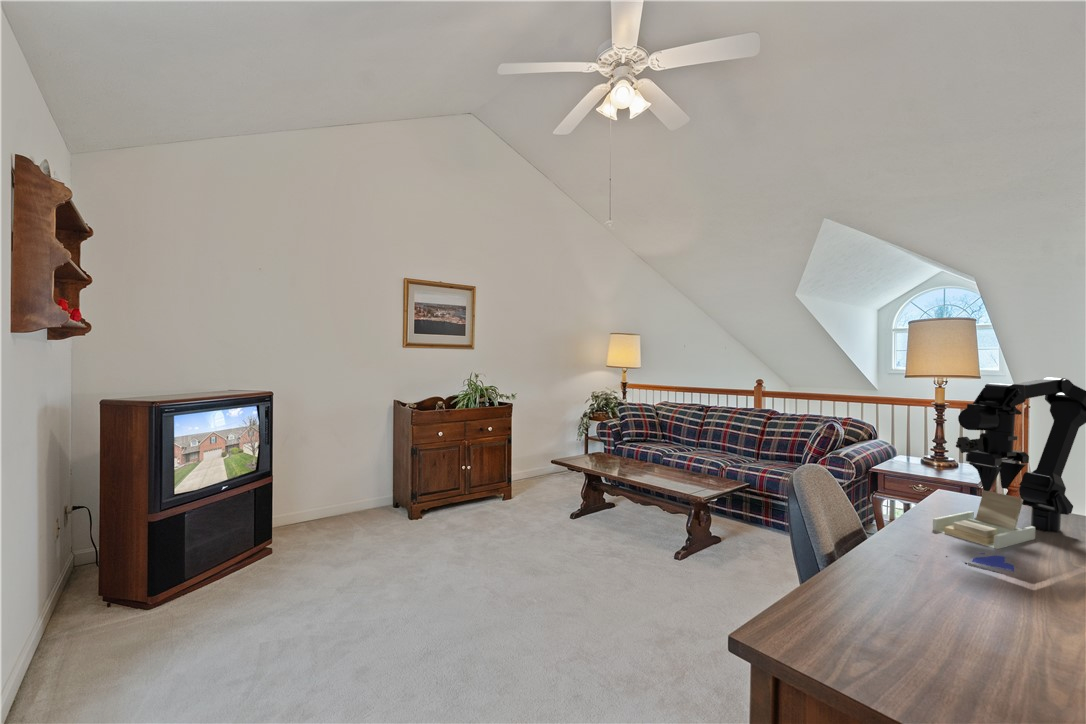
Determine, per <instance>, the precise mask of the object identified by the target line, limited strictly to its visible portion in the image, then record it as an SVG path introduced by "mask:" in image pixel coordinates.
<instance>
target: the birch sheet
mask: <svg viewBox="0 0 1086 724" xmlns="http://www.w3.org/2000/svg"><path fill="white" fill-rule="evenodd" d="M1022 503H1023V499H1022V498H1021V497H1018V496H1013V495H1009V494H1003V493H998V492H995V491H994V492H993V491H991V490H990V491H985V490H984V489H983V491H982V495H981V498H980V502H979V506H978V509H977V513H976V516H975V517H976V520H977V521H981V522H984V523H988V524H992V525H996V526H1000V527H1004V528H1008V529H1011V530H1015V529H1016V528H1017V524H1018V521H1019V516H1020V515H1021V514H1020V513H1021V509H1022V506H1023V505H1022Z"/></svg>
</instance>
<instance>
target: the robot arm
mask: <svg viewBox="0 0 1086 724" xmlns="http://www.w3.org/2000/svg"><path fill="white" fill-rule="evenodd" d="M1038 397H1044V400H1045V401H1046V402H1047V403H1048V404H1049V405H1050V407H1049V413H1050V414H1051V417H1052V420H1053V423H1052V425H1051V428H1050V432H1049V434H1048V436H1047V439H1046V443H1045V445H1044V447H1043V450H1042V452H1041V456H1040V459H1039V461H1038V464H1037V467H1036V469H1035V470H1033V471H1031V472H1030V471H1029V472H1028V471H1025V472H1024V473H1023V474H1022V478H1021V480H1020V483H1019V484H1018V485H1019V487H1018V494H1019V498H1022V499H1023V503H1022V506H1027V507H1031V511H1030V513H1031V515H1030V526H1033V527H1035V531H1037V530H1038V531H1040V532H1046V533H1047V532H1051V533H1060V532H1061V527H1062V526H1061V524H1062V521H1061V520H1062V515H1065V516H1066V515H1067V516H1068V515H1070V514H1072V513H1073V512H1072V511H1073V509H1074V505H1073V503H1072V502H1071V501H1070V500H1069V498H1068V497H1067V496H1066V490H1067V487H1066V485H1065V483H1064V481H1063V478H1062V475H1063V472H1064V470H1065V467H1066V464H1067V462H1068V460H1069V459H1068V458H1069V457H1070V454H1071V450H1072V449H1073V445H1074V442H1075V440H1076V437H1077V434H1078V431H1079V429H1080V428H1081V427H1082V426H1083V425H1086V389H1083V388H1081V387H1079V386H1077V385H1075V384H1074V383H1073V382H1071V380H1070V379H1067V378H1063V377H1045V378H1041V379H1036V380H1031V381H1024V382H1018V383H999V382H988V383H986V384H985V385H984V387H983V388H982V389H981V391H980V392H979V393H978V395H977V397H976V398H975V400H974V401H973V402H972V403H967V404H966V408H964V409H962V410H961V411H960V413H959V415H958V418H957V421H958V423H959V424H960V426H961V427H962V429H964V430H967V431H984V432H981V433H980V434H979V438H974V439H973V438H972V439H970V438H969V437H968V436H962V437H961V436H959V437H957V441H955V443H956V444H955V447H956V449H959V451H960V454H965V453H966V454H965V462H967V463H968V464H969V465H970V466H972V467H973V468H974V469H976V470H977V473H978V476H979V479H980V484H981V485H982V489H983V491H984V490H985V491H990V492H991V489H992V487H993V486H994V484H995V482H996V479H997V477H998V476H999V477H1000V479H999V481H1000V486H1001V487H1000V488H1001V489H1005V490H1006V489H1007V490H1008V488H1009V487H1010V486H1011V484H1012V483H1013V481H1014V480H1015V479H1016V478H1017V476H1018V475H1019V474H1020V472H1021V471H1022V470H1023V469H1024V468H1025V467H1026V464H1028V463H1029V460H1030V456H1029V454H1027V453H1026V451H1020V450H1015V449H1014V441H1018V435H1015V427H1016V426H1015V425H1016V424H1015V423H1016V415H1018V416H1019V415H1022V411H1021V410H1020V409H1018V408H1017V407H1016V406H1019V405H1021V404H1024V403H1025V402H1026V401H1027V400H1028V399H1032V398H1038Z"/></svg>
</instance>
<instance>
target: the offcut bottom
mask: <svg viewBox="0 0 1086 724" xmlns="http://www.w3.org/2000/svg"><path fill="white" fill-rule="evenodd" d="M945 533H947V534H946V535H948V534H951V535H950V536H952V535H954V536H953V537H955V536H958V537H961V538H960V539H962V538H965V539H968V540H967V541H969V540H971V541H970V542H972V541H975V542H978V543H977V544H979V543H982V544H985V545H984V546H986V545H988V544H991V543H994V536H990V537H983V536H979V535H975V534H972V533H968V532H965V531H961V530H958V529H954V525H951V526H947V527H945V532H944V533H943V534H945ZM958 537H957V538H958ZM965 539H964V540H965ZM975 542H974V543H975ZM982 544H981V545H982Z"/></svg>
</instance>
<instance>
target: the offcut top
mask: <svg viewBox="0 0 1086 724" xmlns="http://www.w3.org/2000/svg"><path fill="white" fill-rule="evenodd" d="M954 529H958V530H961V531H965V532H968V533H972V534H975V535H979V536H983V537H990V536H994V535H997V529H996V528H992V527H988V526H984V525H980V524H977V523H973V522H969V521H965V520H963V521H959V522H954Z"/></svg>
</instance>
